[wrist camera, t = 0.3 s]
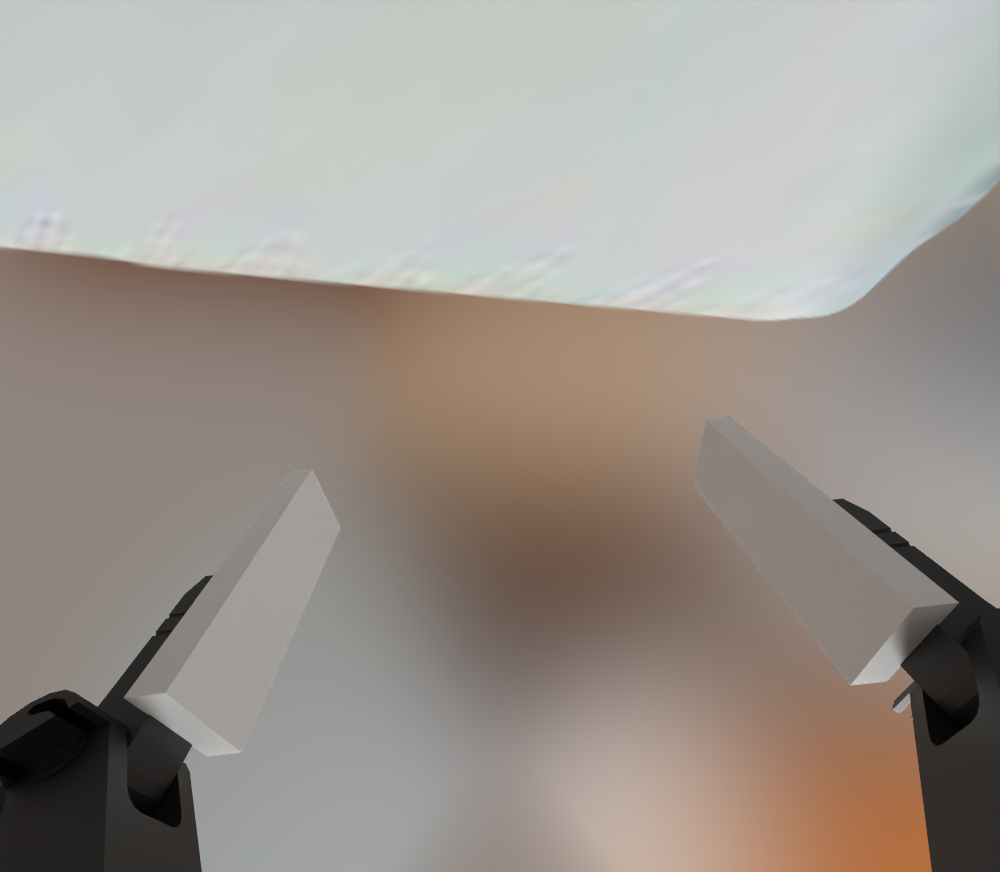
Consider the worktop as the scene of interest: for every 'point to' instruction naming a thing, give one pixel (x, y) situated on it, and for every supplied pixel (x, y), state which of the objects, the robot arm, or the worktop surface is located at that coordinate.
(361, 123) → the worktop surface
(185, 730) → the robot arm
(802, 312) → the worktop surface
